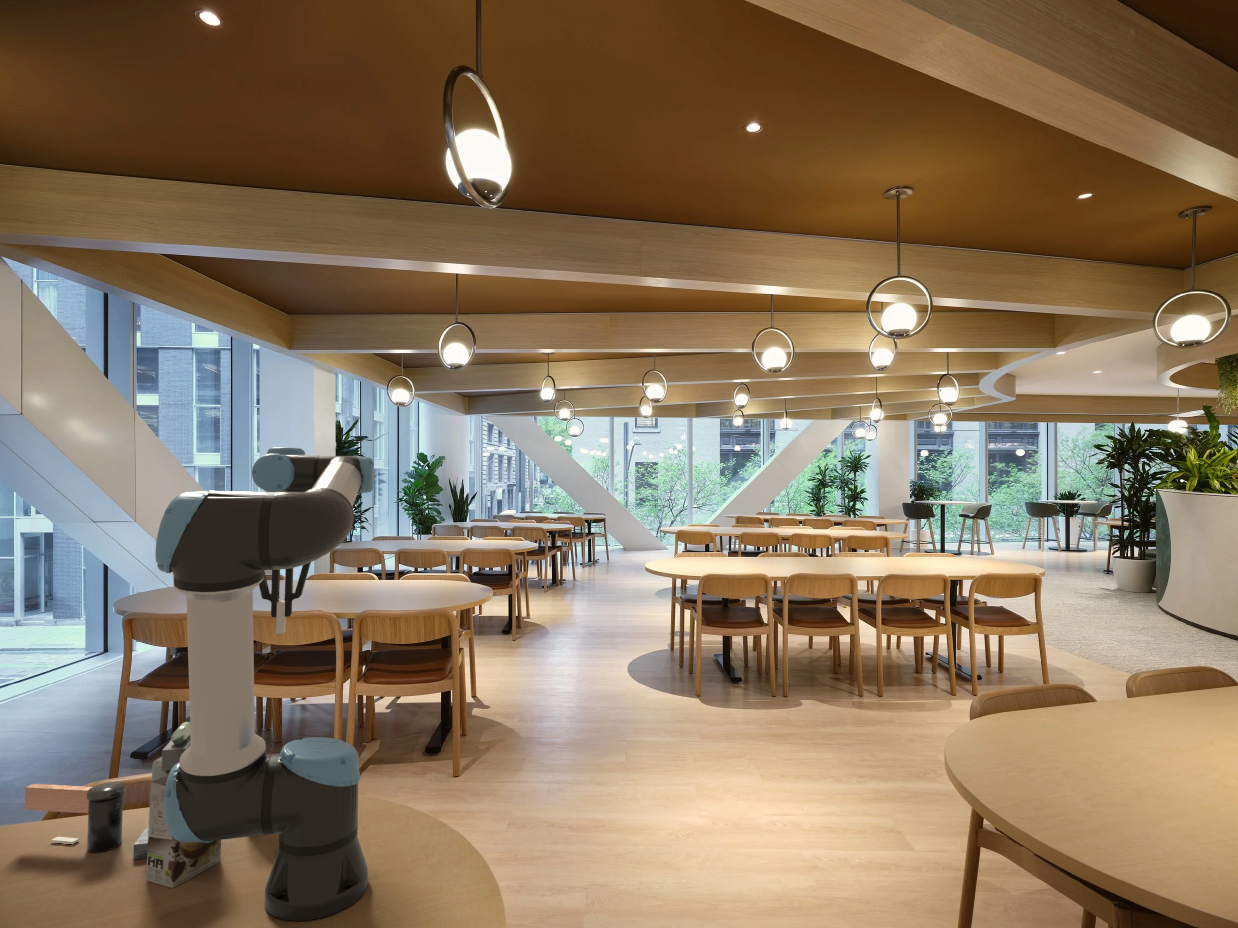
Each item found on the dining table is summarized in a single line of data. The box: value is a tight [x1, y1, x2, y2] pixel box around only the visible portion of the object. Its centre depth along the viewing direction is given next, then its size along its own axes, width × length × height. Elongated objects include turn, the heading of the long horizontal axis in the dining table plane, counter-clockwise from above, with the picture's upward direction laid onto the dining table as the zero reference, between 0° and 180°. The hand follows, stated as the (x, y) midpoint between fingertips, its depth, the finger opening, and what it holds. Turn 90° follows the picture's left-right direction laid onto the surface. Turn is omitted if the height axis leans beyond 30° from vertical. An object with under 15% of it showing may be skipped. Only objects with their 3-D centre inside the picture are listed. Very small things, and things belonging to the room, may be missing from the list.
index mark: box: [50, 836, 80, 845], centre depth 127 cm, size 4×1×1 cm, turn 82°
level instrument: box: [132, 721, 191, 860], centre depth 129 cm, size 11×11×20 cm
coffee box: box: [145, 775, 222, 889], centre depth 118 cm, size 9×6×16 cm
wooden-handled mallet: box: [24, 781, 127, 853], centre depth 126 cm, size 18×6×10 cm, turn 85°
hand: (280, 632), depth 148 cm, fingers closed
